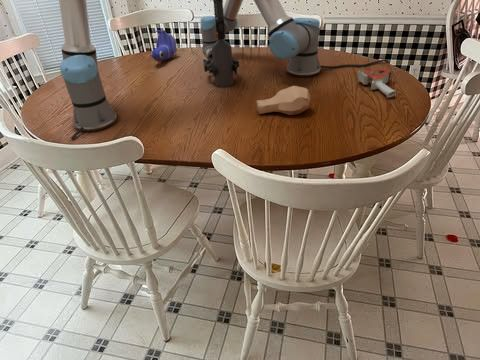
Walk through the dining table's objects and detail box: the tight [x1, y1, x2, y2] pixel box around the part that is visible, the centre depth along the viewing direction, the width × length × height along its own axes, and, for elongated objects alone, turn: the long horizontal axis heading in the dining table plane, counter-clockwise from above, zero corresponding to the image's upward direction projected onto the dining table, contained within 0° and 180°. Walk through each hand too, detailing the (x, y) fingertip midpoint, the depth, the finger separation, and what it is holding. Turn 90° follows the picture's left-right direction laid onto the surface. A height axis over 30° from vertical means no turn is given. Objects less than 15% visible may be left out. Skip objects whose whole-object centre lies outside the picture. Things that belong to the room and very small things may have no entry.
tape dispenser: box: [357, 66, 396, 99], centre depth 144 cm, size 18×5×20 cm
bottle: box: [212, 39, 235, 88], centre depth 153 cm, size 8×8×21 cm
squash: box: [255, 85, 312, 116], centre depth 130 cm, size 11×20×9 cm, turn 92°
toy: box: [150, 29, 178, 66], centre depth 185 cm, size 10×17×25 cm
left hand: (220, 37), depth 147 cm, fingers open, 6 cm apart
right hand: (225, 71), depth 151 cm, fingers closed on bottle, 8 cm apart
